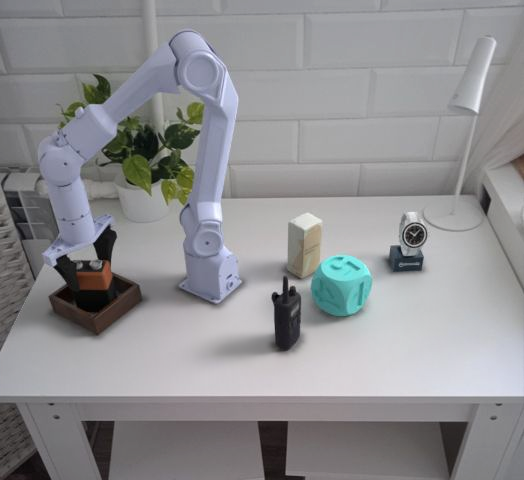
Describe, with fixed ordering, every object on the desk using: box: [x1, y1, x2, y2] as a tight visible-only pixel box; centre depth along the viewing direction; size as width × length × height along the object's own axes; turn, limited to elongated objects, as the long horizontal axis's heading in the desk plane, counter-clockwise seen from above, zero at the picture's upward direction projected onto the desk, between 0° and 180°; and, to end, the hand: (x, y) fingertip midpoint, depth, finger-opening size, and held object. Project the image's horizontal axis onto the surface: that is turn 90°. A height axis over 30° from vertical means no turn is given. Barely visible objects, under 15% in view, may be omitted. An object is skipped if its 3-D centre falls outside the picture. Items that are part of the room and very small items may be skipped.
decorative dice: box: [310, 254, 373, 317], centre depth 111 cm, size 8×8×8 cm
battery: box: [71, 258, 119, 314], centre depth 112 cm, size 4×7×10 cm, turn 86°
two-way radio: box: [270, 275, 302, 351], centre depth 102 cm, size 6×4×15 cm
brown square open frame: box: [47, 271, 144, 336], centre depth 114 cm, size 12×12×4 cm
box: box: [286, 211, 323, 279], centre depth 118 cm, size 5×4×11 cm
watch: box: [388, 211, 430, 273], centre depth 118 cm, size 6×8×11 cm
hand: (90, 277), depth 111 cm, fingers open, 7 cm apart
